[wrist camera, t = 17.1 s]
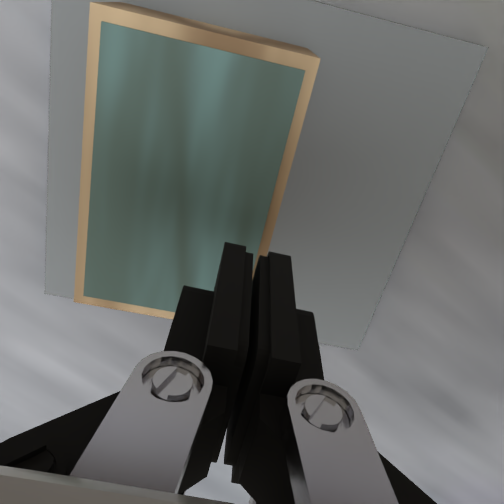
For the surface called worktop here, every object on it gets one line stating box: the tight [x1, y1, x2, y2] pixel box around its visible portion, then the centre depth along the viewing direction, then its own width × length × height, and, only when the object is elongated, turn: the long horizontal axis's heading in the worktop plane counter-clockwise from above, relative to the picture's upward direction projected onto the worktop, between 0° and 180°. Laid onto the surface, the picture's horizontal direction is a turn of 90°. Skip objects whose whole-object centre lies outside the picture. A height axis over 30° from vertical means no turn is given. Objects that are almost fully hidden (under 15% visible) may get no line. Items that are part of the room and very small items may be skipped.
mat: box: [45, 0, 489, 350], centre depth 19 cm, size 15×14×1 cm
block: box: [74, 2, 321, 319], centre depth 17 cm, size 4×10×6 cm
